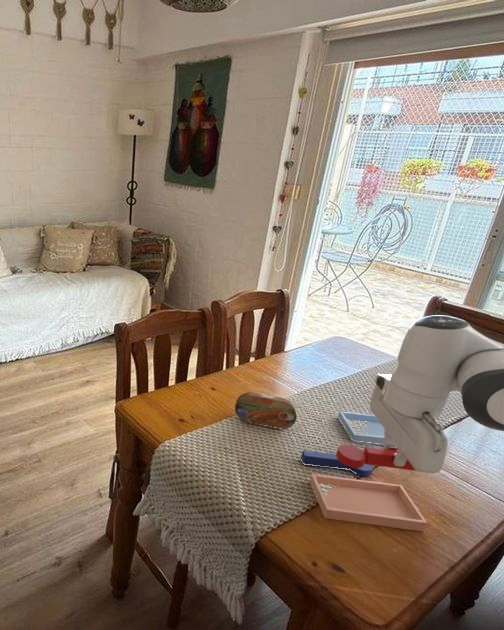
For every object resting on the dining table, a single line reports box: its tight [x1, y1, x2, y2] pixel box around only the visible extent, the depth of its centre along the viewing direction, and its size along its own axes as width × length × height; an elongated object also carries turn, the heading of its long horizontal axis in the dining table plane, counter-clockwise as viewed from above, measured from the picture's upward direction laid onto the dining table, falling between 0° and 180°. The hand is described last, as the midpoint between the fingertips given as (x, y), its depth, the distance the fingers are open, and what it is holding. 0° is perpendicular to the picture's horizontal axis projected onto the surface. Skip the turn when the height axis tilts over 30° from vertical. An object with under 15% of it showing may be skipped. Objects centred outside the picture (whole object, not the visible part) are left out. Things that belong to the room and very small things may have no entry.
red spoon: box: [335, 443, 418, 472], centre depth 87 cm, size 15×5×3 cm, turn 80°
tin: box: [234, 391, 298, 430], centre depth 116 cm, size 15×3×8 cm, turn 68°
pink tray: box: [309, 473, 428, 532], centre depth 91 cm, size 18×10×2 cm, turn 80°
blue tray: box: [337, 411, 399, 448], centre depth 114 cm, size 18×10×2 cm, turn 80°
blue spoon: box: [300, 449, 374, 478], centre depth 102 cm, size 15×5×3 cm, turn 80°
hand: (392, 457), depth 87 cm, fingers closed on red spoon, 2 cm apart
